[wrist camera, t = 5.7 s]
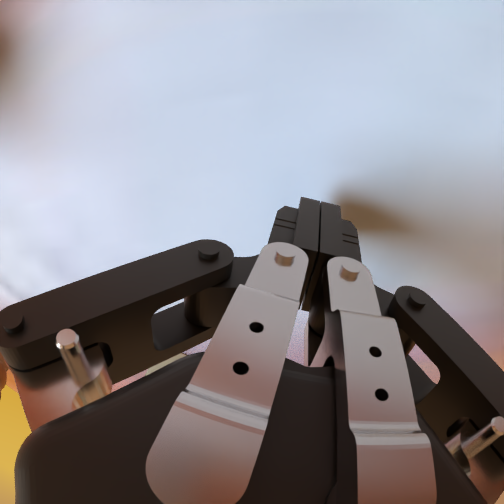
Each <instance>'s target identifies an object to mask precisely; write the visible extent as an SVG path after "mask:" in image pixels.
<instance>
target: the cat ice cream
mask: <svg viewBox="0 0 504 504" xmlns="http://www.w3.org/2000/svg"><path fill="white" fill-rule="evenodd" d="M8 369H9V367H8V366H7V364H6V363H5V361H4V358H3V356H2V354H1V352H0V398H1V390H2V389H3V388H4V386H5V384H6V379H7V376H6V372H7V370H8Z"/></svg>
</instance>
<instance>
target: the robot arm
mask: <svg viewBox="0 0 504 504" xmlns="http://www.w3.org/2000/svg"><path fill="white" fill-rule="evenodd" d="M183 298H184V302H182V303H180V304H178V305H175V306H173V307H170V308H168V309H166V310H163V311H161V312H158V313H156V314H154V313H155V312H156V311H157V310H158V309H160V308H161V307H163V306H166V305H168V304H171V303H173V302H176V301H178V300H180V299H183ZM302 300H303V301H302ZM301 303H302V309H301V310H304V311H308V312H309V318H308V320H307V323H306V326H305V329H304V366H303V365H301V364H299V363H296V362H294V361H292V360H289V359H287V358H286V354H287V350H288V347H289V343H290V339H291V335H292V331H293V327H294V324H295V320H296V316H297V312H298V309H300V306H301ZM153 314H154V315H153ZM210 338H212V339H211V341H210V343H209V345H208V347H207V349H206V351H205V352H200V353H195V354H191V355H187V356H185V357H182V358H179V359H177V360H175V361H173V362H171V363H170V364H168V365H166V366H164V367H162V368H160V369H158V370H156V371H154V372H152V373H150V374H148V375H146V376H144V377H142V378H140V379H138V380H136V381H134V382H132V383H130V384H128V385H126V386H124V387H122V388H120V389H118V390H116V391H114V392H112V393H111V390H112V385H113V384H115V383H118V382H120V381H122V380H124V379H126V378H129V377H131V376H133V375H135V374H137V373H140V372H142V371H144V370H146V369H148V368H150V367H153V366H155V365H157V364H159V363H161V362H163V361H165V360H167V359H170V358H172V357H174V356H176V355H178V354H180V353H182V352H184V351H186V350H188V349H190V348H192V347H194V346H196V345H198V344H200V343H202V342H204V341H206V340H208V339H210ZM415 344H417V345H418V347H419V348H420V349H421V350H422V351H423V352H424V353H425V354H426V355H427V356H428V357H429V358H430V360H431V361H432V362H433V363H434V364H435V365H436V366H437V367H438V369H439V371H440V380H439V382H438V384H435V383H433V382H432V381H431V379H430V378H429V377H428V376H427V375H426V374H425V373H424V371H423V370H422V369H421V368H420V367H419V366H418V365H417V364H416V362H415V361H414V360H413V359H412V358H411V357H410V356H409V355H408V354H409V352H410V351H411V350H412V348H413V347H414V345H415ZM0 352H1V354H2V356H3V358H4V361H5V363H6V364H7V366H8V367H9V369H10V370H11V372H12V373H13V375H14V378H15V382H16V386H17V389H18V392H19V396H20V399H21V401H22V406H23V409H24V412H25V415H26V418H27V420H28V423H29V426H30V429H31V431H32V433H31V434H30V435H29V436H28V437H27V438H26V440H25V441H24V443H23V444H22V445H21V448H20V450H19V452H18V455H17V458H16V462H15V470H14V471H15V492H16V495H15V501H16V502H15V504H495V502H496V501H497V500H498V498H499V497H500V495H501V494H502V493H503V491H504V371H503V370H502V369H501V368H500V367H499V366H498V365H497V364H496V363H495V362H494V361H493V359H492V358H491V357H490V356H489V355H488V354H487V353H486V352H485V351H484V350H483V349H482V348H481V347H480V346H479V345H478V344H477V343H476V342H475V341H474V340H473V338H472V337H471V336H470V335H469V334H468V333H467V332H466V331H465V330H464V329H463V328H462V327H461V326H460V325H459V324H458V323H457V322H456V321H455V320H454V319H453V318H452V317H451V316H450V315H449V314H447V313H446V312H445V311H444V310H443V309H442V308H441V307H440V306H439V305H438V304H437V303H436V302H435V301H434V300H433V299H432V298H431V297H430V296H429V295H427V294H426V293H425V292H424V291H422V290H420V289H418V288H415V287H412V286H402V287H400V288H398V289H397V291H396V292H395V294H391V293H389V292H387V291H385V290H383V289H381V288H379V287H377V286H376V285H374V283H373V279H372V275H371V273H370V271H369V269H368V268H367V267H366V266H365V265H364V264H362V261H361V254H360V247H359V240H358V234H357V229H356V228H355V227H354V225H353V224H352V223H351V221H347V220H343V219H341V212H340V206H338V205H334V204H330V203H326V202H322V201H321V203H320V201H317V200H313V199H309V198H305V197H301V199H300V204H299V208H298V209H296V208H292V207H288V206H284V207H283V208H281V209H280V210H278V211H277V214H276V218H275V221H274V225H273V228H272V231H271V234H270V238H269V241H268V244H267V245H265V246H264V247H263V248H262V250H261V252H260V254H259V255H256V256H252V257H234V253H233V251H232V249H231V248H230V247H229V246H227V245H226V244H224V243H222V242H219V241H216V240H208V239H206V240H198V241H194V242H191V243H188V244H185V245H182V246H179V247H176V248H173V249H170V250H167V251H164V252H161V253H158V254H155V255H152V256H149V257H146V258H143V259H140V260H137V261H134V262H131V263H128V264H125V265H122V266H119V267H116V268H113V269H110V270H107V271H105V272H102V273H99V274H96V275H93V276H90V277H87V278H84V279H82V280H79V281H76V282H73V283H70V284H67V285H65V286H62V287H59V288H56V289H53V290H51V291H48V292H45V293H42V294H40V295H37V296H34V297H31V298H29V299H26V300H23V301H21V302H18V303H15V304H12V305H10V306H8V307H6V308H4V309H3V310H1V311H0Z"/></svg>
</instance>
